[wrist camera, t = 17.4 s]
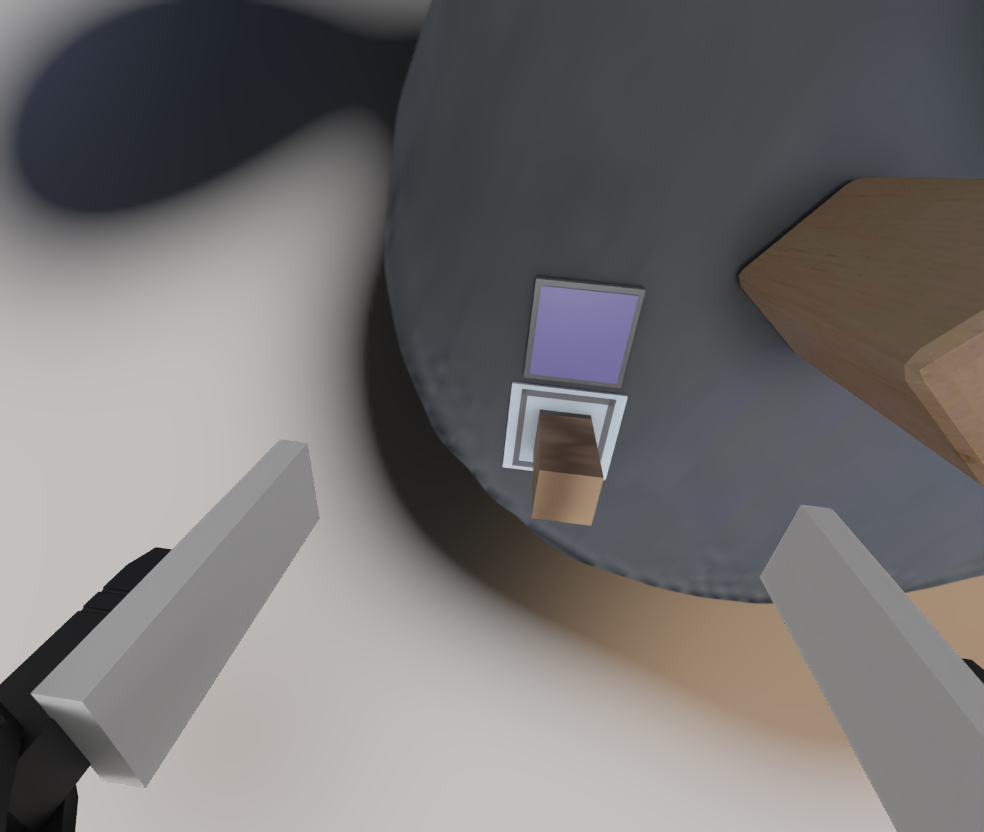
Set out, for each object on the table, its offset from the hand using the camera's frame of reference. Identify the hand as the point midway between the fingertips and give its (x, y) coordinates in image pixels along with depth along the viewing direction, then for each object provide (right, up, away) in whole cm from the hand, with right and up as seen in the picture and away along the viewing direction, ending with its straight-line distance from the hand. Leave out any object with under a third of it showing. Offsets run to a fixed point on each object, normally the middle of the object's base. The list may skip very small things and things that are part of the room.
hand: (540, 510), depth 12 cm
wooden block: (+25, +14, +23) cm, 36 cm away
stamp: (+6, +1, +32) cm, 32 cm away
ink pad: (+7, +10, +27) cm, 29 cm away
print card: (+6, +1, +32) cm, 32 cm away
